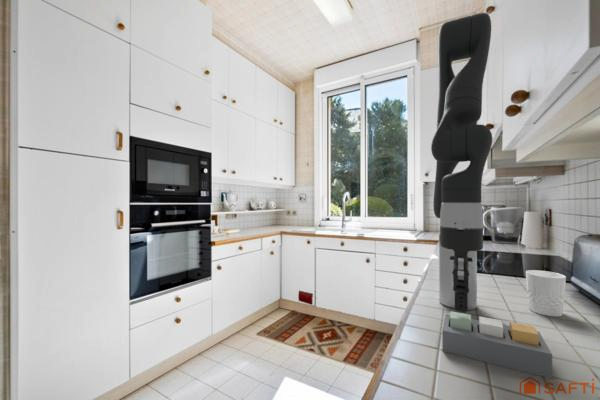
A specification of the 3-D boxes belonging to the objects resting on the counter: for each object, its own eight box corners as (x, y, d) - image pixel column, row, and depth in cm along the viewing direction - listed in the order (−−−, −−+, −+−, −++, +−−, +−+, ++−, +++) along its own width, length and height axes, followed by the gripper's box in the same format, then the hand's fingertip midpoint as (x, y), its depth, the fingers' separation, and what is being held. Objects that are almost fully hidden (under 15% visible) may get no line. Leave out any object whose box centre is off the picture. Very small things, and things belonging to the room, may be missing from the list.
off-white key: (479, 326, 55) (479, 316, 55) (501, 330, 53) (500, 320, 53) (479, 333, 52) (479, 323, 52) (503, 338, 50) (503, 327, 50)
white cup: (524, 311, 72) (523, 273, 72) (527, 303, 78) (527, 268, 78) (565, 320, 66) (565, 279, 66) (566, 311, 72) (566, 273, 72)
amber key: (509, 332, 53) (509, 322, 53) (534, 337, 51) (534, 326, 51) (512, 340, 50) (512, 329, 50) (538, 346, 48) (538, 334, 48)
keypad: (445, 331, 61) (445, 313, 61) (539, 352, 52) (539, 331, 52) (442, 350, 53) (442, 330, 53) (552, 378, 45) (552, 354, 45)
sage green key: (450, 320, 58) (450, 311, 58) (470, 324, 56) (470, 314, 56) (450, 327, 55) (450, 317, 55) (471, 331, 53) (471, 321, 53)
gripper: (442, 222, 63) (442, 297, 63) (437, 226, 52) (437, 318, 51) (481, 223, 59) (481, 303, 59) (485, 228, 48) (485, 327, 48)
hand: (461, 310), depth 55 cm, fingers closed
